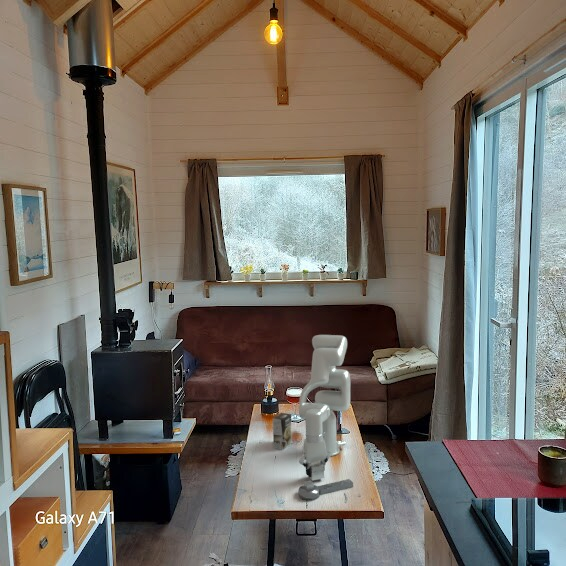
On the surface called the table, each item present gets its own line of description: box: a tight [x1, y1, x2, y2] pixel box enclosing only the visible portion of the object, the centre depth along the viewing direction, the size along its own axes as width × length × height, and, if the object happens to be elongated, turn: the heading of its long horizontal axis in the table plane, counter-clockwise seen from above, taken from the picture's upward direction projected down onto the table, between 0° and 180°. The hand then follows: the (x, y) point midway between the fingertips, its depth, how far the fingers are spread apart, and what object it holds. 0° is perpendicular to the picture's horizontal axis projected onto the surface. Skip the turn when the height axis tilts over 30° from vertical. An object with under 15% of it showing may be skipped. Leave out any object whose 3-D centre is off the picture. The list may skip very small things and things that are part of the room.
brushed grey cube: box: [307, 461, 325, 482], centre depth 241 cm, size 6×6×6 cm
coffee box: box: [272, 412, 293, 451], centre depth 277 cm, size 9×6×16 cm
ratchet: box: [298, 478, 354, 501], centre depth 230 cm, size 25×9×6 cm, turn 111°
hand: (315, 473), depth 241 cm, fingers closed on brushed grey cube, 6 cm apart
